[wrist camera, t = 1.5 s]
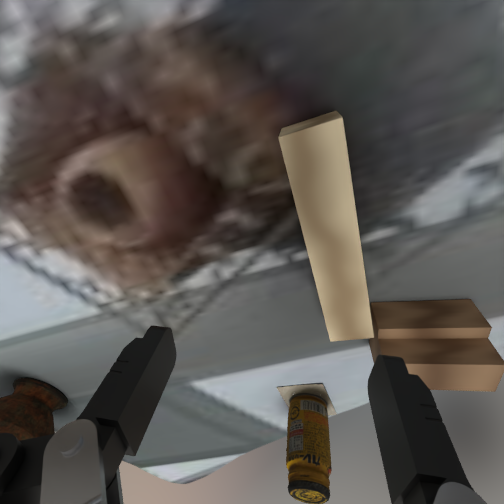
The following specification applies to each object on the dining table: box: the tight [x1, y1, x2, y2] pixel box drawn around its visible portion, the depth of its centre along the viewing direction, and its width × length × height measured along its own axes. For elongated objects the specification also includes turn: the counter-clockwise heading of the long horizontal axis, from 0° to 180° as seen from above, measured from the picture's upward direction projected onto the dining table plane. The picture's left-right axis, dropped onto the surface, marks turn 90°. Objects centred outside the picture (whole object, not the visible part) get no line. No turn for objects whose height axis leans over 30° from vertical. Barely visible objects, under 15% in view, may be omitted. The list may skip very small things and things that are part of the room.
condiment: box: [277, 384, 337, 504], centre depth 39 cm, size 7×8×12 cm
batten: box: [278, 111, 374, 341], centre depth 26 cm, size 4×22×4 cm, turn 18°
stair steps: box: [369, 299, 504, 391], centre depth 30 cm, size 10×7×7 cm
